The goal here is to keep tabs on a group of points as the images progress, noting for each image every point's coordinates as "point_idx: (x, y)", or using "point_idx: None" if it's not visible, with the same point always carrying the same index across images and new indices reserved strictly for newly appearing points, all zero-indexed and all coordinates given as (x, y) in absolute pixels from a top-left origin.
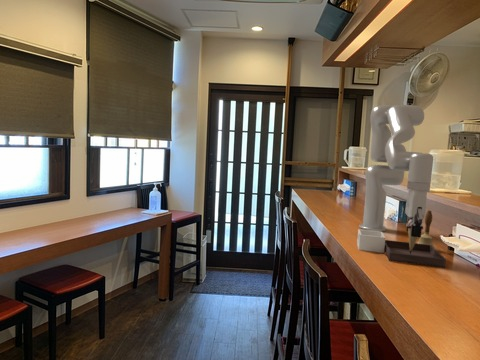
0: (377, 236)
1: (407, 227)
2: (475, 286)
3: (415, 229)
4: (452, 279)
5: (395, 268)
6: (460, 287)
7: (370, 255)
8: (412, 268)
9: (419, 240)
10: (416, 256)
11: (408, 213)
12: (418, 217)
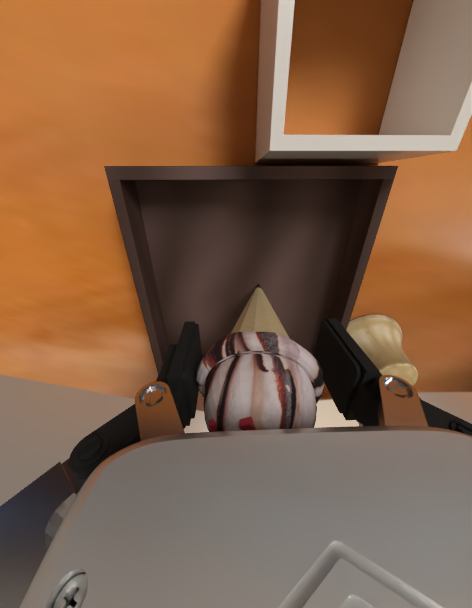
0: (284, 66)
1: (232, 333)
2: (51, 383)
3: (162, 373)
4: (64, 351)
5: (26, 183)
6: (7, 354)
7: (167, 53)
8: (86, 259)
9: (384, 347)
10: (138, 294)
11: (218, 492)
12: (10, 530)
